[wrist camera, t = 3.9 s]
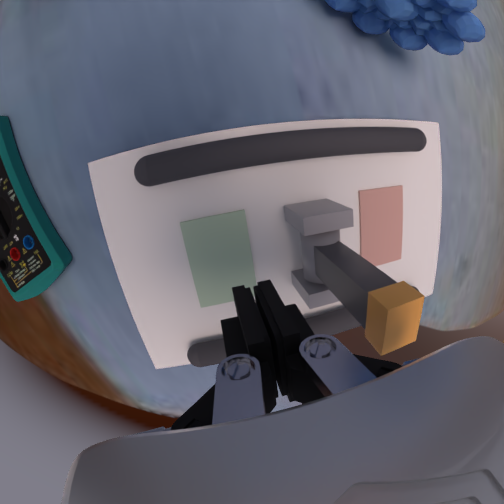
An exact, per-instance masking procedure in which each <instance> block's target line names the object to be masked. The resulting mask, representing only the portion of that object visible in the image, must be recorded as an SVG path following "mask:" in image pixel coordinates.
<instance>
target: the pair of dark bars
mask: <svg viewBox="0 0 504 504" xmlns="http://www.w3.org/2000/svg"><path fill="white" fill-rule="evenodd" d="M426 143H427V140H426V136H425V134H424V133H423V132H422V131H421V130H420V129H418V128H409V127H338V128H319V129H305V130H293V131H283V132H273V133H265V134H257V135H249V136H242V137H235V138H229V139H223V140H217V141H211V142H206V143H200V144H195V145H190V146H185V147H181V148H176V149H171V150H167V151H163V152H158V153H154V154H150V155H146V156H144V157H142V158H140V159H139V160H138V162H137V163H136V165H135V168H134V176H135V178H136V180H137V181H138V182H139V183H140V184H141V185H143V186H147V187H150V186H156V185H160V184H164V183H168V182H173V181H177V180H182V179H187V178H191V177H196V176H201V175H206V174H212V173H217V172H222V171H228V170H234V169H240V168H246V167H252V166H258V165H265V164H272V163H279V162H287V161H294V160H303V159H311V158H321V157H331V156H342V155H355V154H370V153H389V152H418V151H421V150H423V149H424V148H425V146H426ZM412 287H413V288H415V289H416V290H417V291H419V290H418V289H417V288H416V287H414V286H412ZM305 320H306V321H307V323H308V324H309V326H310V328H311V329H312V331H313V332H314V334H315V335H318V334H325V335H330V336H331V335H334V334H337V333H340V332H343V331H347V330H350V329H352V328H356V327H358V326H361V324H360V323H359V322H358V321H357V320H356V319H355V318H354V317H353V315H352V314H351V313H350V312H349V311H348V310H347V309H346V308H345V307H344V308H341V309H337V310H334V311H330V312H327V313H323V314H320V315H316V316H313V317H309V318H305ZM187 357H188V360H189V362H190V363H191V364H192V365H194V366H197V367H204V366H209V365H215V364H220V362H221V361H222V360H224V359H225V358H227V357H226V351H225V345H224V339H223V338H221V339H216V340H211V341H205V342H200V343H196V344H193V345H192V346H190V348H189V349H188V352H187Z"/></svg>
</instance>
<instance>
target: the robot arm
mask: <svg viewBox="0 0 504 504" xmlns="http://www.w3.org/2000/svg"><path fill="white" fill-rule="evenodd" d="M253 289H254V295H255V299H254V297H253V294H252V292H251V289H250V287H248V288H245V286H244V285H241V286H236V287H232V292H233V297H234V302H235V307H236V312H237V317H232V318H228V319H223V320H220V321H221V327H222V333H223V339H224V345H225V351H226V357H227V358H225V359H224V360H222V361H221V362H220V364H219V365H218V367H217V372H216V383H215V385H214V386H213V387H212V388H210V389H209V390H208V391H207V392H206V393H205V394H204V395H203V396H202V397H201V398H200V399H199V400H198V401H197V402H196V403H195V404H194V405H193V406H191V407H190V408H189V409H188V410H187V411H186V412H185V413H184V414H183V415H182V416H181V417H179V418H178V419H177V420H176V421H175V423H174V424H173V425H172V427H171V428H168V429H165V428H164V427H160V428H157V429H153V430H150V431H145V432H142V433H137V434H133V435H128V436H122V437H117V438H113V439H109V440H106V441H103V442H100V443H97V444H95V445H92V446H90V447H88V448H87V449H85V450H83V451H82V452H81V453H80V454H79V455H78V456H77V457H76V458H75V460H74V462H73V463H72V465H71V468H70V470H69V473H68V477H67V479H66V483H65V488H64V492H63V497H62V503H61V504H504V343H502V342H500V341H499V340H497V339H495V338H492V337H488V336H481V337H473V338H467V339H464V340H461V341H457V342H455V343H452V344H450V345H447V346H445V347H443V348H441V349H439V350H437V351H435V352H433V353H431V354H428V355H426V356H424V357H422V358H418V359H415V360H411V361H406V362H404V363H403V365H402V366H401V365H399V364H397V363H393V362H389V361H384V360H379V359H374V358H369V357H364V356H359V355H355V354H352V353H351V352H350V351H349V350H348V349H347V348H346V347H345V346H344V345H343V344H342V343H341V342H339V341H338V340H337V339H336V338H334V337H333V336H330V335H325V334H318V335H315V334H314V332H313V331H312V329H311V328H310V326H309V324H308V323H307V321H306V320H305V318H304V317H303V315H302V313H301V312H300V310H299V309H298V307H297V305H296V304H290V305H286V306H285V305H284V303H283V301H282V300H281V298H280V296H279V294H278V293H277V291H276V289H275V287H274V285H273V284H272V282H271V280H270V279H269V280H265V281H260V282H257V286H253ZM255 301H256V302H255ZM276 381H277V382H276ZM277 383H278V386H279V389H280V391H281V394H282V396H285V395H287V396H288V399H289V401H290V402H292V401H297V402H300V403H302V405H298V406H295V407H291V408H287V409H284V410H280V411H276V412H272V413H270V412H271V411H272V410H273V408H274V407H275V406H276V398H277V397H278V390H277Z"/></svg>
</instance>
